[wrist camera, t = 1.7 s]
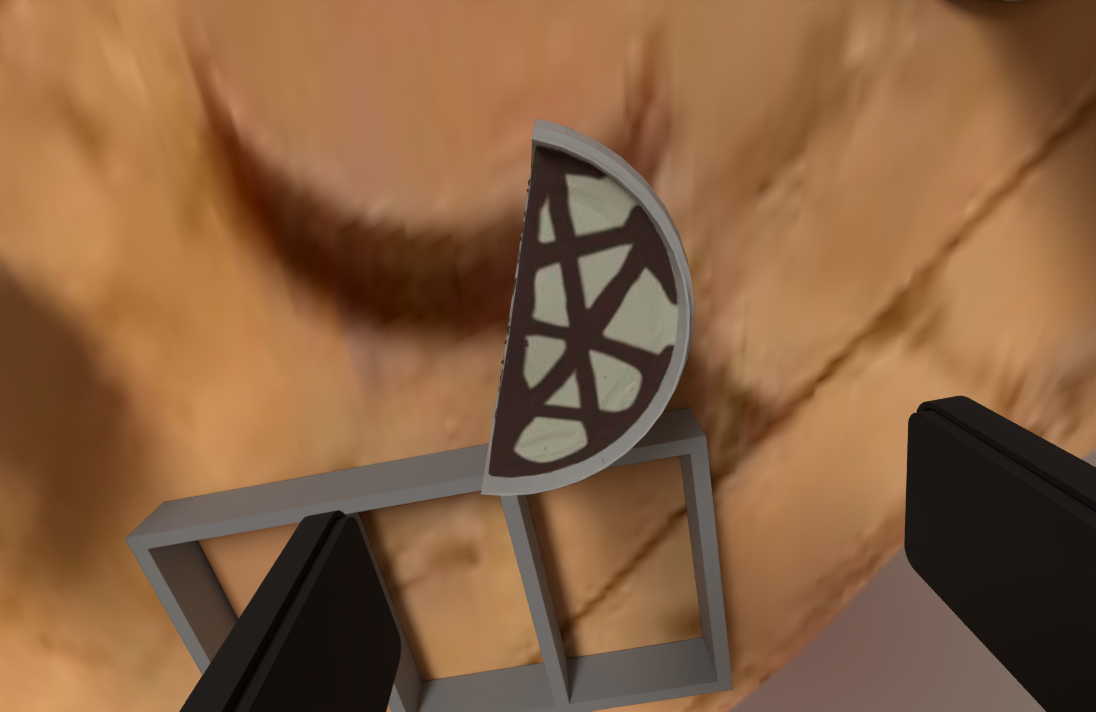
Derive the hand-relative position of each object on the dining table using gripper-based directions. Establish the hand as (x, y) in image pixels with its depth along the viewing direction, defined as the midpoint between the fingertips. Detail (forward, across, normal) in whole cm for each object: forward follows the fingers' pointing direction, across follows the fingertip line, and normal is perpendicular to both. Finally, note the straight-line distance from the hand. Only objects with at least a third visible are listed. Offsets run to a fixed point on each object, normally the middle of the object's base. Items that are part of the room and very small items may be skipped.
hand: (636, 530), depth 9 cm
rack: (+18, +9, +16) cm, 26 cm away
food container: (+18, -1, 0) cm, 18 cm away
